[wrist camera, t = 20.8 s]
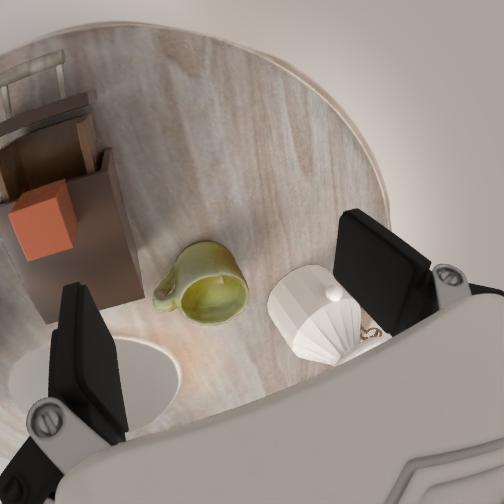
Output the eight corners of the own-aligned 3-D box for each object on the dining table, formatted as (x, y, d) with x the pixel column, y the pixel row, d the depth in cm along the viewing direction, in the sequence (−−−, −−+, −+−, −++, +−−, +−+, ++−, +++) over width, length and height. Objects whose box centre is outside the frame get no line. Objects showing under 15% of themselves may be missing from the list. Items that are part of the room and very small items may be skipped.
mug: (251, 233, 43) (260, 293, 36) (232, 277, 50) (237, 333, 43) (161, 220, 39) (154, 283, 33) (155, 269, 46) (150, 326, 40)
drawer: (-3, 81, 20) (-32, 84, 14) (90, 47, 24) (81, 38, 18) (34, 225, 31) (19, 259, 25) (117, 199, 34) (117, 229, 28)
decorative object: (308, 324, 63) (378, 417, 44) (254, 321, 56) (324, 435, 37) (347, 262, 58) (438, 351, 38) (294, 248, 50) (396, 360, 31)
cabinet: (16, 178, 28) (-11, 210, 20) (111, 147, 31) (108, 170, 24) (54, 276, 36) (46, 324, 29) (137, 252, 40) (145, 298, 32)
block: (22, 193, 21) (7, 214, 18) (64, 178, 23) (55, 197, 19) (37, 236, 24) (27, 262, 20) (78, 223, 25) (73, 248, 22)
